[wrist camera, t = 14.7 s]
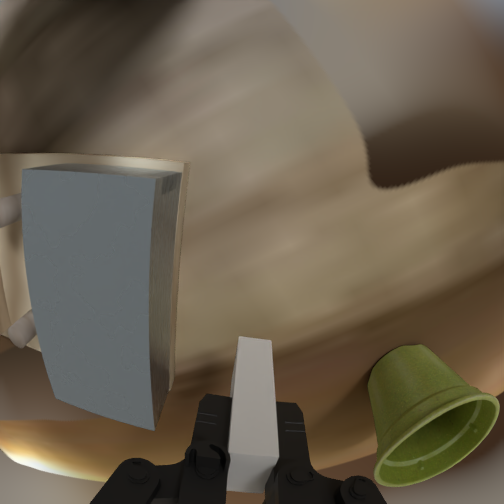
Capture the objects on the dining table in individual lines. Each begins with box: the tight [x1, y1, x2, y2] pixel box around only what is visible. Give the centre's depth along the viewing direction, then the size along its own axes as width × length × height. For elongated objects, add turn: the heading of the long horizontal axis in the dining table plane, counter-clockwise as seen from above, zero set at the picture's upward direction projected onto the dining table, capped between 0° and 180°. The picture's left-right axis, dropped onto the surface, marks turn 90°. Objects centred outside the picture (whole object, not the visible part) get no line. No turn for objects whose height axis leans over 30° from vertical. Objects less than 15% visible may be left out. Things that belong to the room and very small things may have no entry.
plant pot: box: [367, 344, 500, 487], centre depth 17 cm, size 9×9×9 cm
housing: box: [21, 163, 182, 431], centre depth 16 cm, size 8×15×4 cm, turn 171°
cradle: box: [0, 153, 190, 391], centre depth 17 cm, size 28×16×4 cm, turn 81°
